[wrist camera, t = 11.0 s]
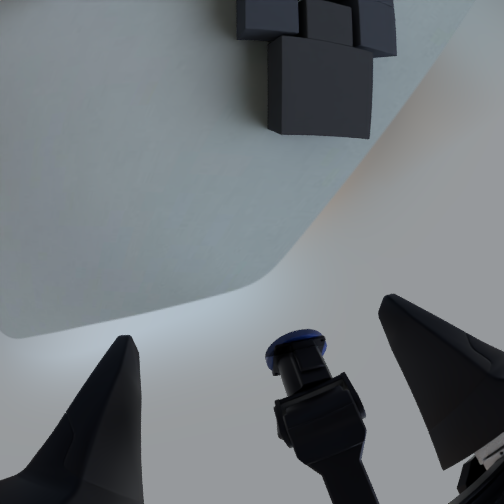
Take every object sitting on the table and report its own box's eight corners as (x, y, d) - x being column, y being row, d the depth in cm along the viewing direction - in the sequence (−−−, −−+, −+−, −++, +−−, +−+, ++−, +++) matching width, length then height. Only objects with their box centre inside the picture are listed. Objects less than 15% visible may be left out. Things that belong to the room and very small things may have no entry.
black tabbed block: (348, 21, 13) (371, 13, 10) (346, 132, 18) (369, 139, 15) (266, 7, 12) (280, -8, 9) (267, 129, 17) (281, 134, 14)
